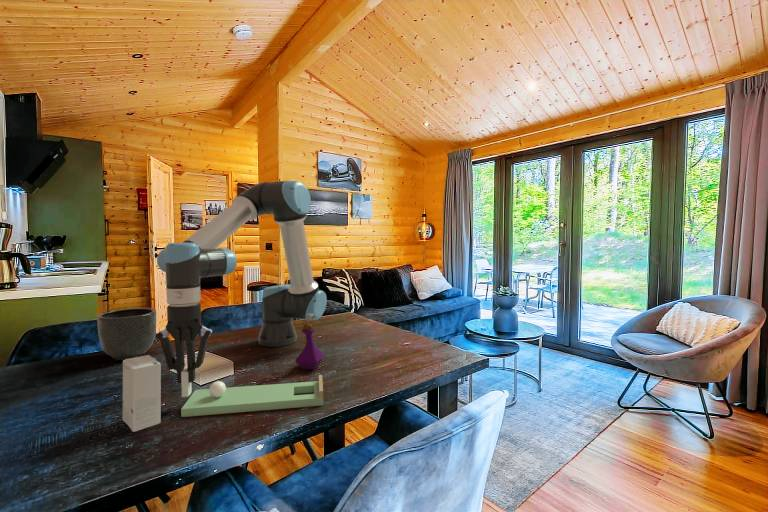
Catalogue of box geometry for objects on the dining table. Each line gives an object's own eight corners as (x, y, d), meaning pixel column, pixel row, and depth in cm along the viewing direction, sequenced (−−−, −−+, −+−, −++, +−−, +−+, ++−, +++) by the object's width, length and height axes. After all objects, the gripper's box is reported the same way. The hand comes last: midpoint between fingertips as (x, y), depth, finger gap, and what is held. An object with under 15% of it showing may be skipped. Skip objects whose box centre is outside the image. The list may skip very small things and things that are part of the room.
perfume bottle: (316, 372, 117) (316, 317, 116) (294, 370, 119) (294, 316, 118) (325, 364, 125) (324, 312, 123) (304, 362, 126) (304, 311, 125)
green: (195, 397, 100) (195, 383, 99) (322, 387, 106) (322, 374, 106) (181, 417, 89) (180, 401, 88) (323, 405, 95) (323, 391, 95)
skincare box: (122, 421, 87) (119, 359, 86) (150, 411, 91) (148, 353, 90) (133, 433, 81) (131, 368, 80) (163, 423, 86) (161, 361, 85)
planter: (87, 361, 126) (85, 315, 125) (137, 347, 142) (135, 306, 141) (120, 368, 120) (118, 320, 119) (168, 352, 136) (167, 310, 135)
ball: (211, 393, 97) (211, 379, 97) (227, 392, 98) (227, 378, 97) (207, 400, 93) (207, 385, 93) (224, 399, 94) (223, 384, 93)
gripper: (149, 307, 87) (152, 403, 89) (207, 305, 90) (209, 399, 91) (161, 301, 95) (165, 390, 96) (215, 300, 97) (217, 386, 99)
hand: (186, 394), depth 94 cm, fingers closed
